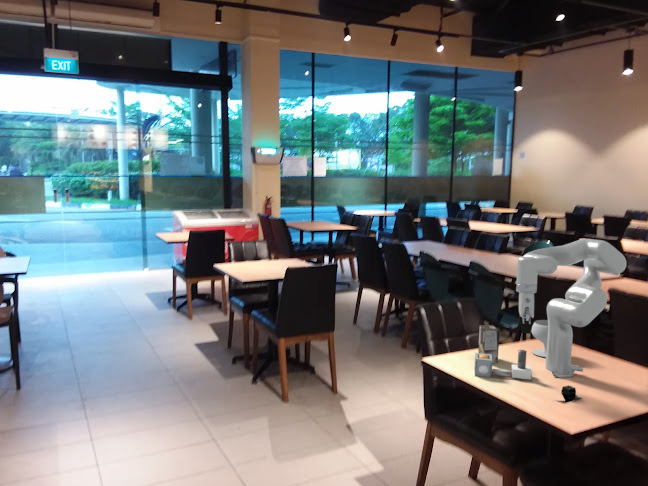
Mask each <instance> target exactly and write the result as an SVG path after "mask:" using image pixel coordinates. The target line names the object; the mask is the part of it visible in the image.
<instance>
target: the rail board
mask: <svg viewBox="0 0 648 486" xmlns="http://www.w3.org/2000/svg"><path fill="white" fill-rule="evenodd" d="M476 377H478V378H479V377H480V378H484V377H483V376H476ZM486 378H488V379H498V380H508V381H516V382H526V383H527V382H528V383H533V382H534V381H533V374H532V375H531V380H530V379H520V378H512V371H511V370H509V369H501V368H499V369H498V368H492V377H486Z"/></svg>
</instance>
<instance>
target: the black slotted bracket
mask: <svg viewBox="0 0 648 486" xmlns="http://www.w3.org/2000/svg"><path fill="white" fill-rule="evenodd" d="M576 394H577V390H576V387H574V386H571V385H565V386H562V388H561V395H562V398H563V400H560V401H561V402H562V403H564V404H567V403H569V402H571V403H572V402H575V401H579V400H583V399H584V398H583V397H580V396H578V395H576Z"/></svg>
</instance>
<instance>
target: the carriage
mask: <svg viewBox="0 0 648 486" xmlns="http://www.w3.org/2000/svg"><path fill="white" fill-rule="evenodd" d="M517 352H518V353H517V354H518V355H517V364H511V371H512V378H520V379H530V380H531V375H532V376H533V371H532V369H531V365H526V364H527V363H526V362H527V350H526V349H518V351H517Z"/></svg>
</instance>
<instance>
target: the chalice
mask: <svg viewBox="0 0 648 486" xmlns="http://www.w3.org/2000/svg"><path fill="white" fill-rule="evenodd" d="M531 334H532V336H533V338H534V339H535V338H536V339H537V340H538V341H540V342H541V343H542V344H543V345H544V348H538V349H533V350H532V353H533V355H534V356H535V355H536V356H538V357H541V358H545V359H546V353H547V338H548V319H537V320H535V321H534V322H533V324H532V325H531Z"/></svg>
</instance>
